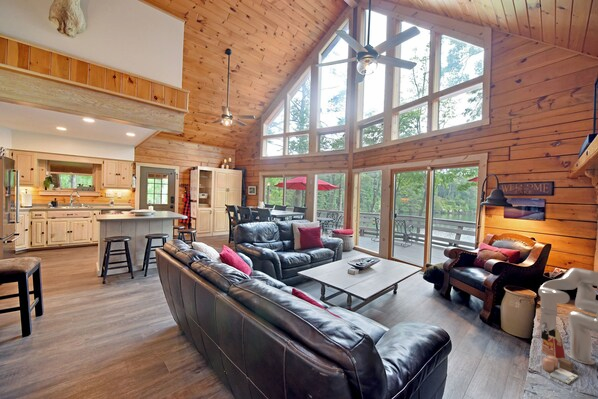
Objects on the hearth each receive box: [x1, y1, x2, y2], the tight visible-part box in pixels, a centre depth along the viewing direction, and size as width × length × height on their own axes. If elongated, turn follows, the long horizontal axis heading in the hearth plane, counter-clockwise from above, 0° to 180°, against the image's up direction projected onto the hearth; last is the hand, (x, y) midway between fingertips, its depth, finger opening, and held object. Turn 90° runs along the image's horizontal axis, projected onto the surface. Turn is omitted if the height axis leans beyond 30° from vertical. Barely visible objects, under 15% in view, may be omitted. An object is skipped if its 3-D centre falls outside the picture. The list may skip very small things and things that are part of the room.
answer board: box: [549, 367, 579, 385], centre depth 153 cm, size 14×8×1 cm, turn 116°
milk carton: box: [541, 326, 567, 360], centre depth 175 cm, size 9×9×20 cm
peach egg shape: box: [546, 355, 559, 370], centre depth 162 cm, size 5×5×6 cm
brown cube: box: [558, 357, 574, 373], centre depth 161 cm, size 5×5×5 cm
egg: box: [542, 357, 555, 373], centre depth 159 cm, size 5×5×6 cm
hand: (548, 337), depth 159 cm, fingers open, 9 cm apart
